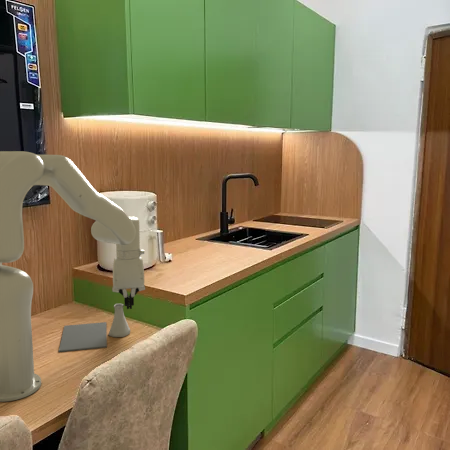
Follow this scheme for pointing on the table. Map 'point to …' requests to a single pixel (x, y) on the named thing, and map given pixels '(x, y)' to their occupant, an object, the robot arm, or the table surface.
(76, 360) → the table surface
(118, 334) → the flask
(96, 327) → the mat
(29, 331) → the robot arm
